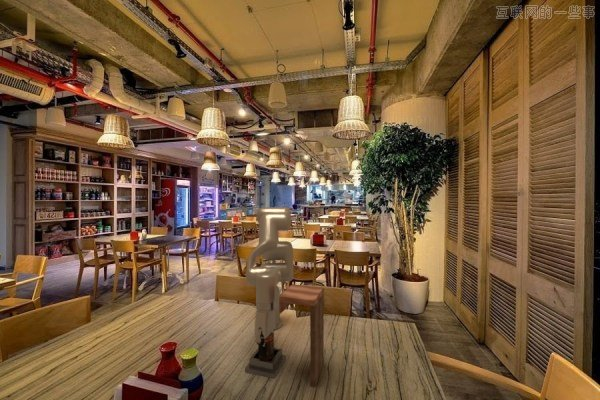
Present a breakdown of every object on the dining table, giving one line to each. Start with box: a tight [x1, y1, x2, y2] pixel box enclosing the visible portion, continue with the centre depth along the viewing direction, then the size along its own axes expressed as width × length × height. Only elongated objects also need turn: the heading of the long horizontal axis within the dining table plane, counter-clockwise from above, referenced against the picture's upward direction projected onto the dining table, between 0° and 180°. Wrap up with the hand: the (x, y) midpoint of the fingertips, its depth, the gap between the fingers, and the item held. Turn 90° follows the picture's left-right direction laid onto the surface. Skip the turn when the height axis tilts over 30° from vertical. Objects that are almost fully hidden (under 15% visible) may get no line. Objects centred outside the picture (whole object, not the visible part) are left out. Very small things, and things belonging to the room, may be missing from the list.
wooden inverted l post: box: [279, 283, 325, 388], centre depth 102 cm, size 14×13×30 cm
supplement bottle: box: [259, 332, 275, 360], centre depth 105 cm, size 6×6×11 cm
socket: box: [244, 347, 287, 379], centre depth 105 cm, size 12×12×4 cm
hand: (266, 350), depth 105 cm, fingers closed on supplement bottle, 6 cm apart
